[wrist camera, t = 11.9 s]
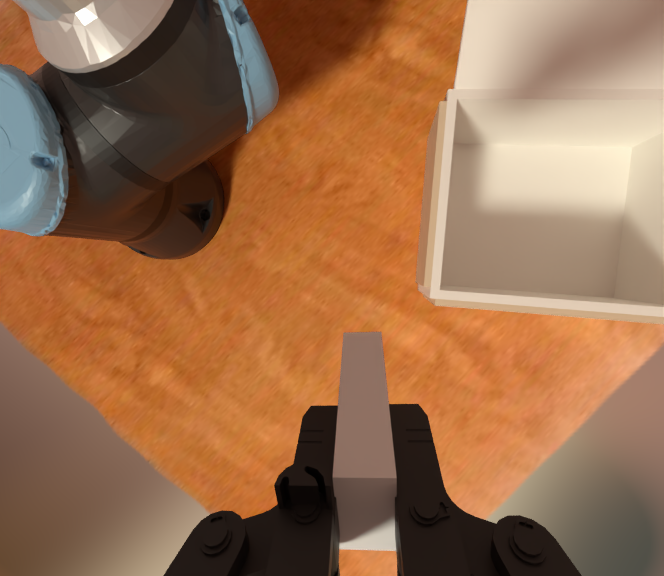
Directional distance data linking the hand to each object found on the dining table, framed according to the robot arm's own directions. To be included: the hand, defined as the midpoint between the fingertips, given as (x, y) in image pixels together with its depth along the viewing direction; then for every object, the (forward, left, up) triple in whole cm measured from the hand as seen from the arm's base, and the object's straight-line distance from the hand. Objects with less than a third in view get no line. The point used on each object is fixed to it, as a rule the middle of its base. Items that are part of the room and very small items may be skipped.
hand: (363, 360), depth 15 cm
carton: (-1, +19, -30) cm, 36 cm away
